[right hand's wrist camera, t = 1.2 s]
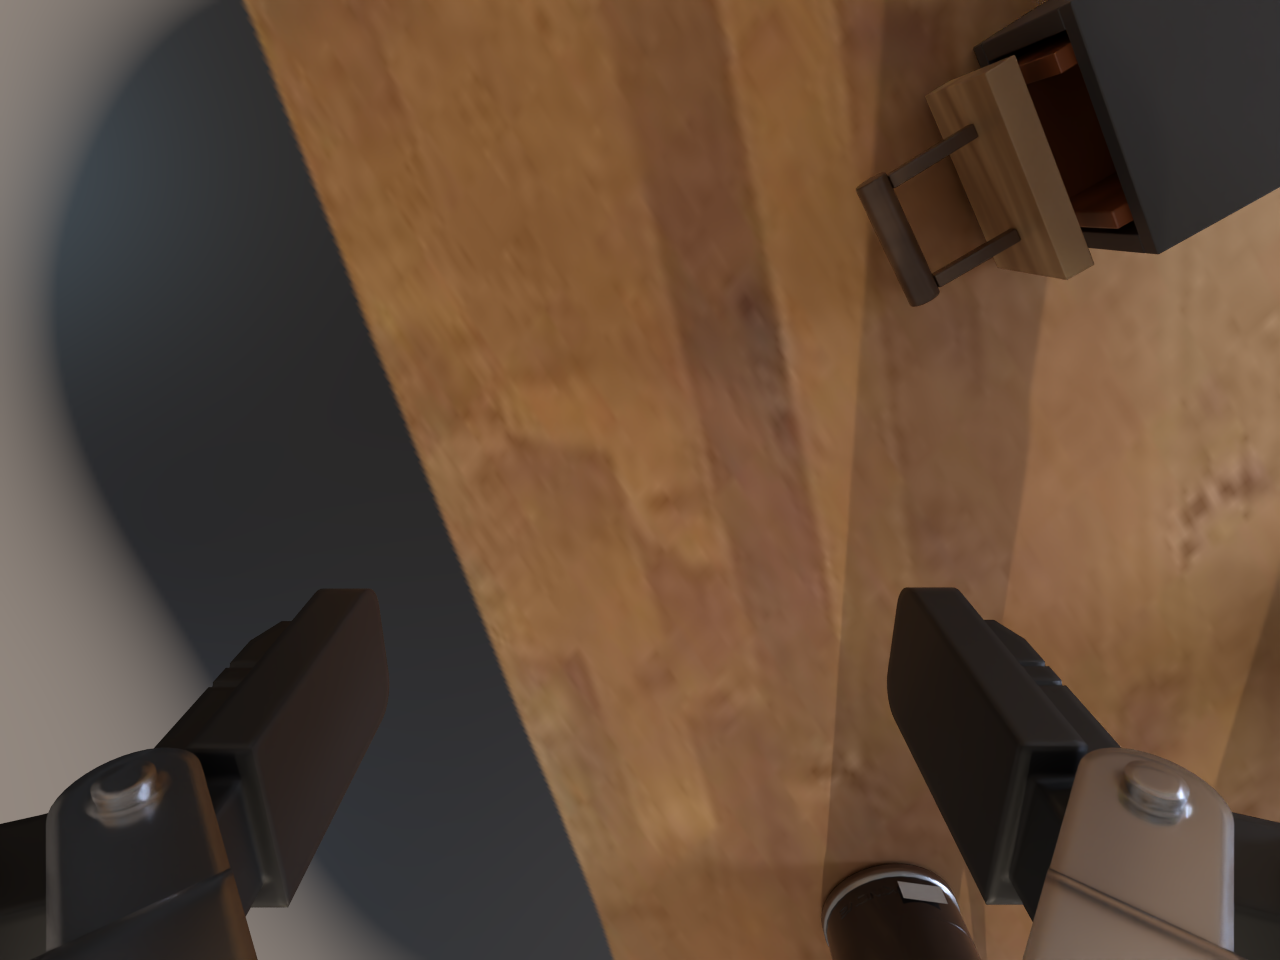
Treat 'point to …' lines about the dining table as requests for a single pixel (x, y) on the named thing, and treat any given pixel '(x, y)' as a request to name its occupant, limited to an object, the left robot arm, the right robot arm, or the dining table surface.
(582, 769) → the dining table surface
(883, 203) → the drawer
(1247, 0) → the cabinet
